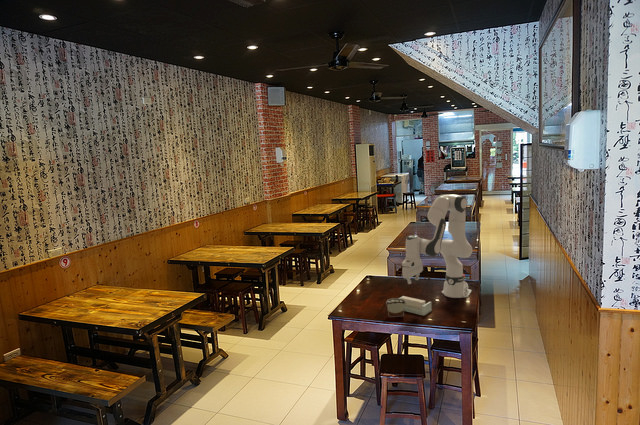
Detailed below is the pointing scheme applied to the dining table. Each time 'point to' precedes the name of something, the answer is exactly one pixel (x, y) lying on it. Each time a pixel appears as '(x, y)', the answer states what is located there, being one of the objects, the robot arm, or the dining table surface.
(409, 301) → the clay strip
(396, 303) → the food container
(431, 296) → the dining table surface
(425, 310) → the grey elongated piece
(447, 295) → the robot arm
